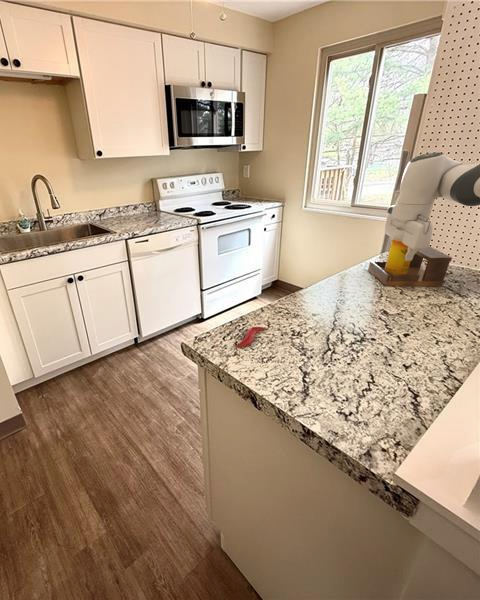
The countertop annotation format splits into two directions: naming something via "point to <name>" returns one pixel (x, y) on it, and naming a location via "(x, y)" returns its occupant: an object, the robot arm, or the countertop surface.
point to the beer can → (397, 255)
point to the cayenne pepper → (250, 336)
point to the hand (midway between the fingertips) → (400, 255)
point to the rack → (415, 270)
